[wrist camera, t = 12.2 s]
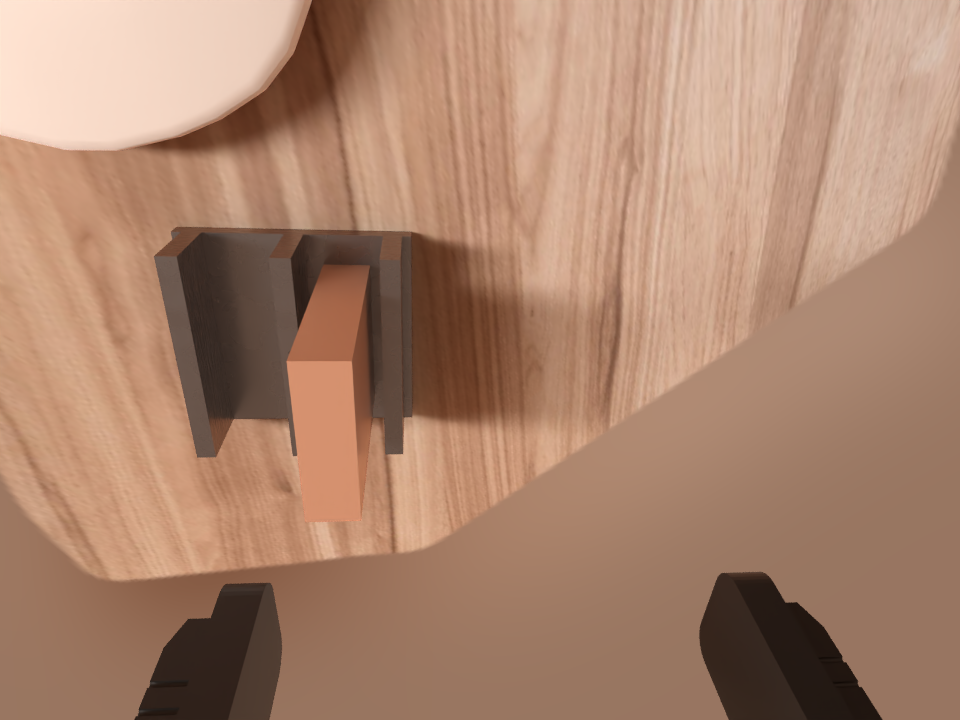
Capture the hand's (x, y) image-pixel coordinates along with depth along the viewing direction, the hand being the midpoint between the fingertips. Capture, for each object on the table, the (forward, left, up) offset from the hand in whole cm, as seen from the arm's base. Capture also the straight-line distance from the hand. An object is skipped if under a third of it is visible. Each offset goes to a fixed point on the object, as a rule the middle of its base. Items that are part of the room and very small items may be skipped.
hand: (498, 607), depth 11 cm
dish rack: (+10, -9, -32) cm, 35 cm away
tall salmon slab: (+10, -6, -31) cm, 33 cm away
